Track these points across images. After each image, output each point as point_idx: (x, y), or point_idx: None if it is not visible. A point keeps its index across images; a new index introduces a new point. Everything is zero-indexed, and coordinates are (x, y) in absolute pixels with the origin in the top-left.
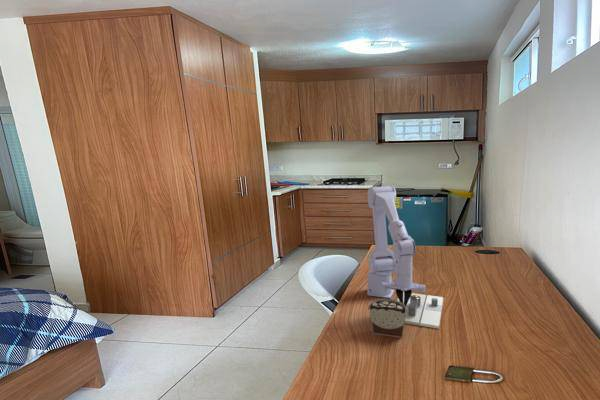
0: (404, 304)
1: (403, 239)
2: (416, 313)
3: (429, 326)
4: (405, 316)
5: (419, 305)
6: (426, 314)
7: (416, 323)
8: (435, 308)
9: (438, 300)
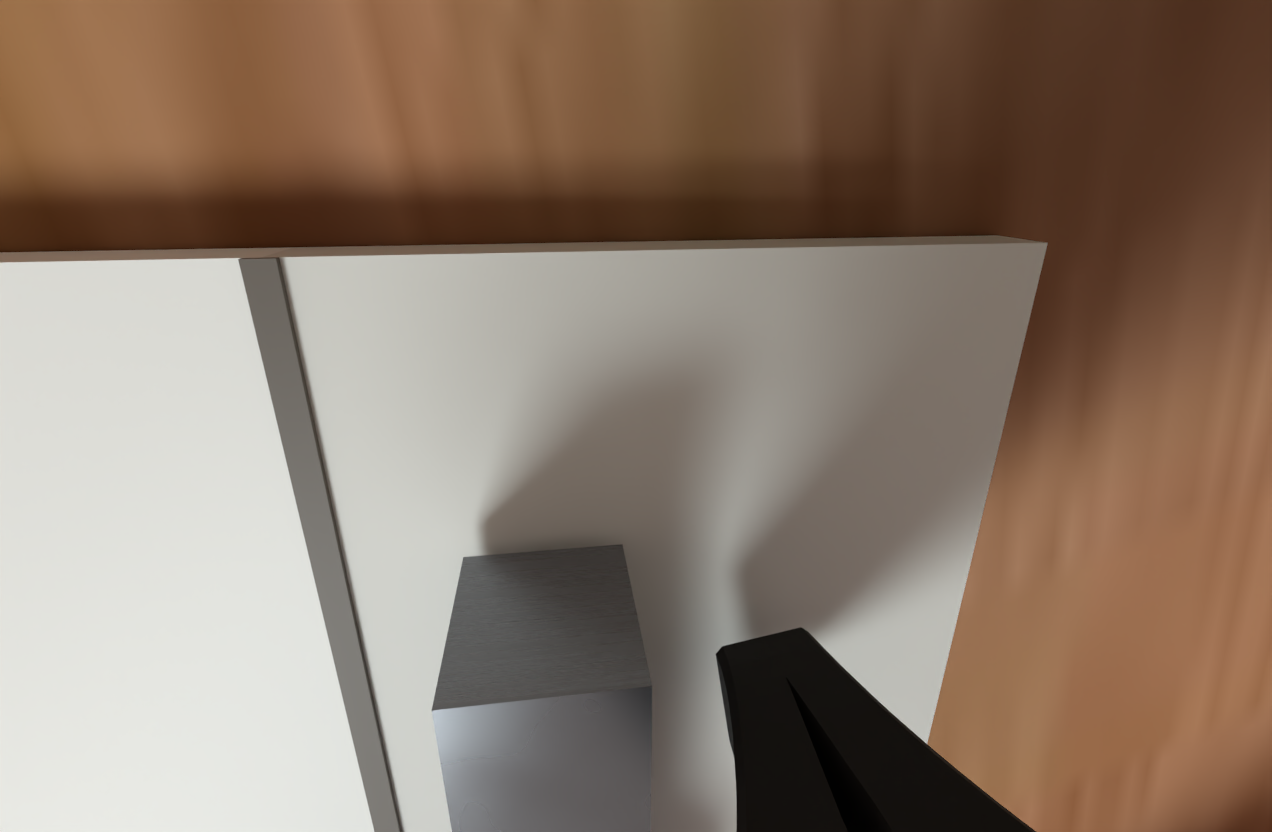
0: (810, 770)
1: None
2: None
3: (9, 255)
4: (684, 465)
5: None
6: (261, 721)
7: (365, 253)
8: None
9: None
